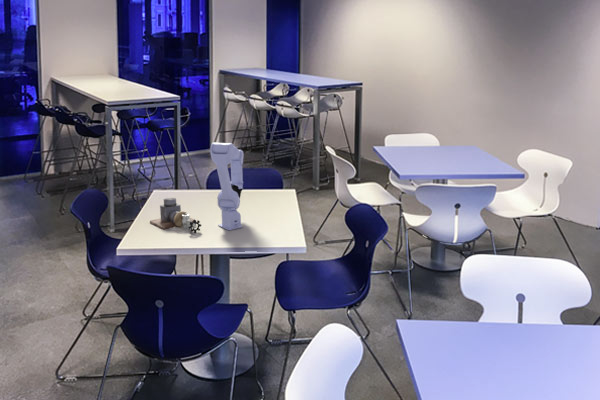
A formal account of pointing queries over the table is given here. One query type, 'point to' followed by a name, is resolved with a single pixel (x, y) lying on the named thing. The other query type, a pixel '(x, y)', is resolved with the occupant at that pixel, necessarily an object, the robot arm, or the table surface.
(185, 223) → the valve
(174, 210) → the pipe stand
